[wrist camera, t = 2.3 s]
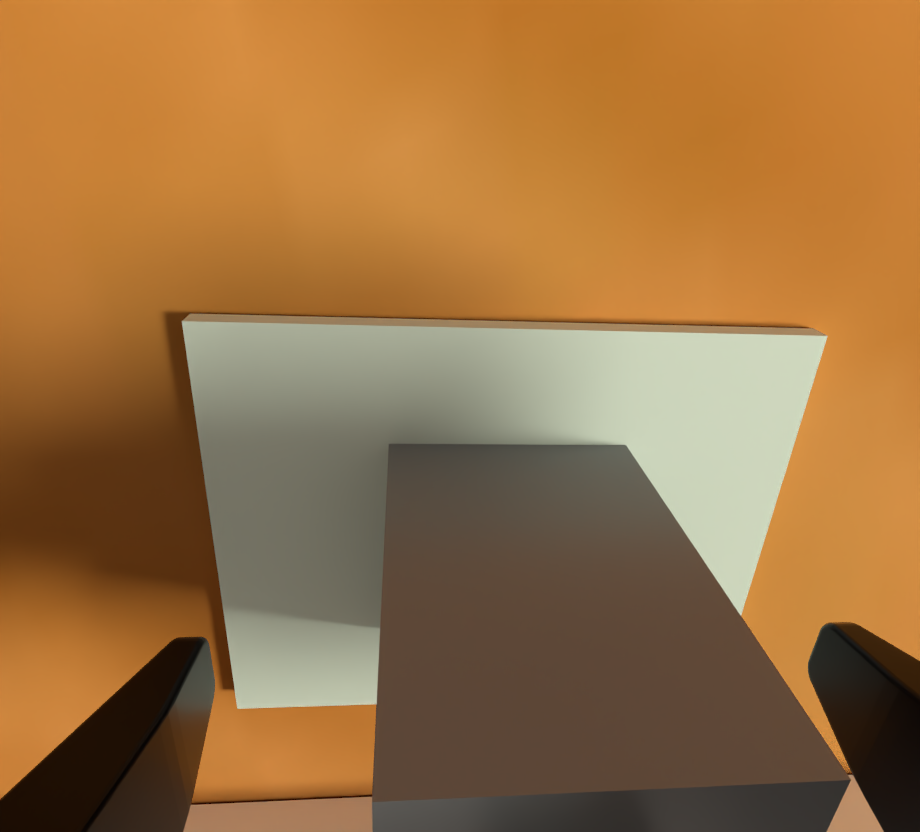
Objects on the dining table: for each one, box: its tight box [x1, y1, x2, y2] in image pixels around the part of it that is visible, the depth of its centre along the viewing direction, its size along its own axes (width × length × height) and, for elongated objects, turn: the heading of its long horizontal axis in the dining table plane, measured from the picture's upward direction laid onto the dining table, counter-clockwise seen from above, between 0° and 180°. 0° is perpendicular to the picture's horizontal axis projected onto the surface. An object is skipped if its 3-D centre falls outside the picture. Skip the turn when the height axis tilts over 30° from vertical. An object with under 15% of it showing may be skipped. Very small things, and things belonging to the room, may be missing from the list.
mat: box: [182, 313, 827, 709], centre depth 12 cm, size 10×8×1 cm
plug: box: [372, 444, 851, 832], centre depth 8 cm, size 4×4×8 cm
